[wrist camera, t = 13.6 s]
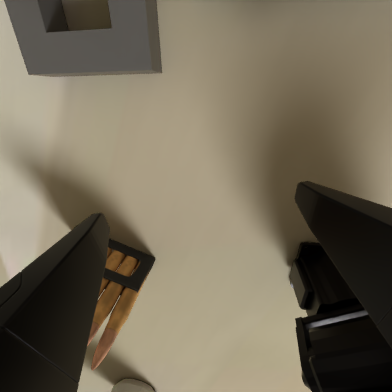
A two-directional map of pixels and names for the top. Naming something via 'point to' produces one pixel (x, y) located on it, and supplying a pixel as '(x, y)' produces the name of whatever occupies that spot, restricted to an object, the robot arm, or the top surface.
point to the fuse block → (87, 39)
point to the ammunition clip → (118, 293)
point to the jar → (132, 386)
